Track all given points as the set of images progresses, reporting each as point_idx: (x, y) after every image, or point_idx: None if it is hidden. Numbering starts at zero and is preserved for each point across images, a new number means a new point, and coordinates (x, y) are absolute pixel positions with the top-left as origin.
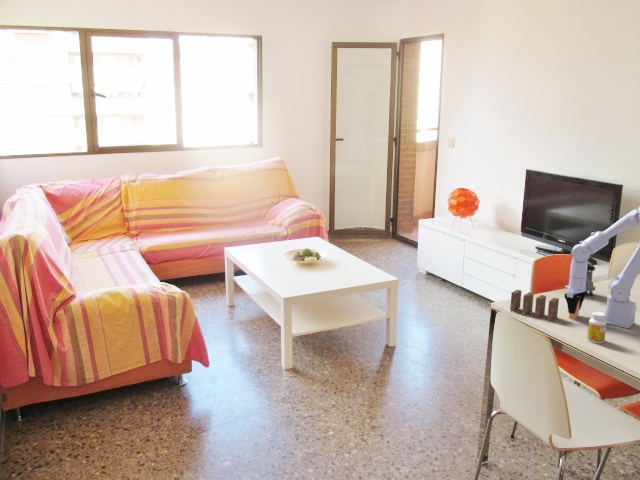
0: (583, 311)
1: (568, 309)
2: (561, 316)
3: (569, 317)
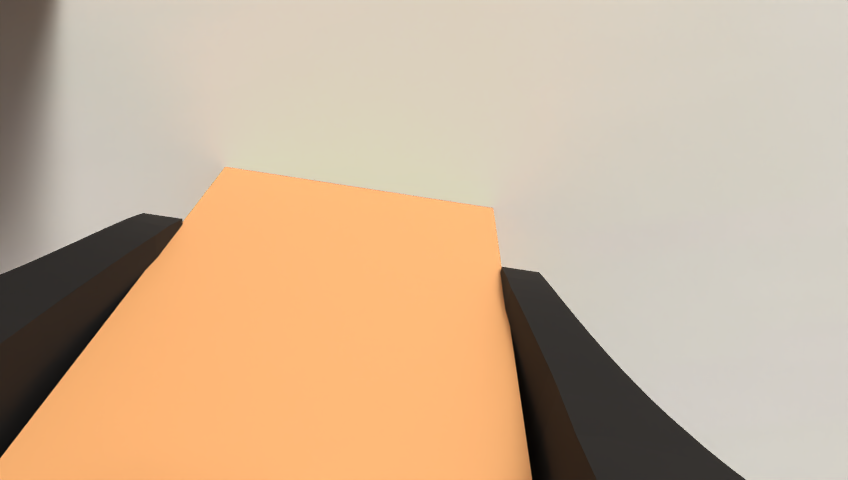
0: (769, 326)
1: (83, 246)
2: (219, 13)
3: (221, 181)
